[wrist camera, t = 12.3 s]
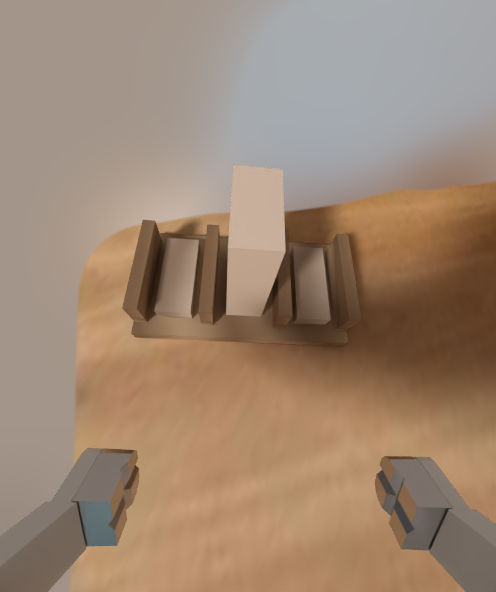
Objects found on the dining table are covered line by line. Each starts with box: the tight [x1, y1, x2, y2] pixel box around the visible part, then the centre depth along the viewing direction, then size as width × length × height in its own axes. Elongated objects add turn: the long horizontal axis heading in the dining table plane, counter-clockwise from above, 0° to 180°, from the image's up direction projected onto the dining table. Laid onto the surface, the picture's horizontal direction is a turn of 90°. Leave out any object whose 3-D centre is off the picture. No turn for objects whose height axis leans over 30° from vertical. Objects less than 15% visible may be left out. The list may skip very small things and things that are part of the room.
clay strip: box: [226, 165, 286, 317], centre depth 20 cm, size 3×6×10 cm, turn 179°
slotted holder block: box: [123, 220, 362, 346], centre depth 23 cm, size 18×10×4 cm, turn 89°
